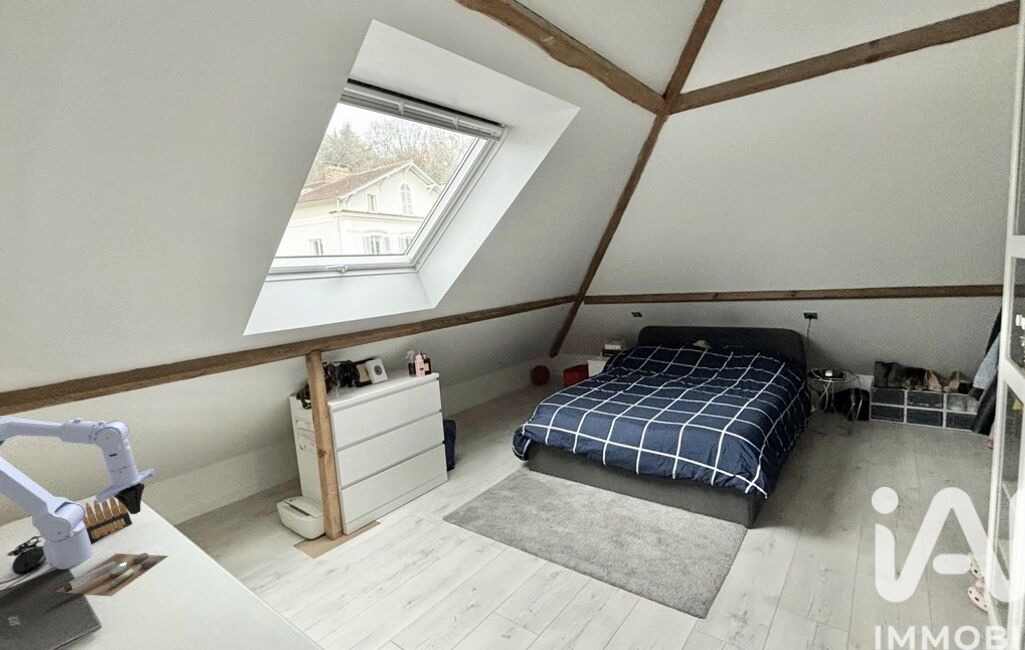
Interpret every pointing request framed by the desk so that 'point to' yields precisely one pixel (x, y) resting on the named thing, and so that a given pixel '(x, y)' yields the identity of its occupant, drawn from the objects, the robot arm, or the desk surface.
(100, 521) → the ammunition clip
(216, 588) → the desk surface
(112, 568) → the door lever handle
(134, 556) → the brown flat board
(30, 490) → the robot arm
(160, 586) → the desk surface
